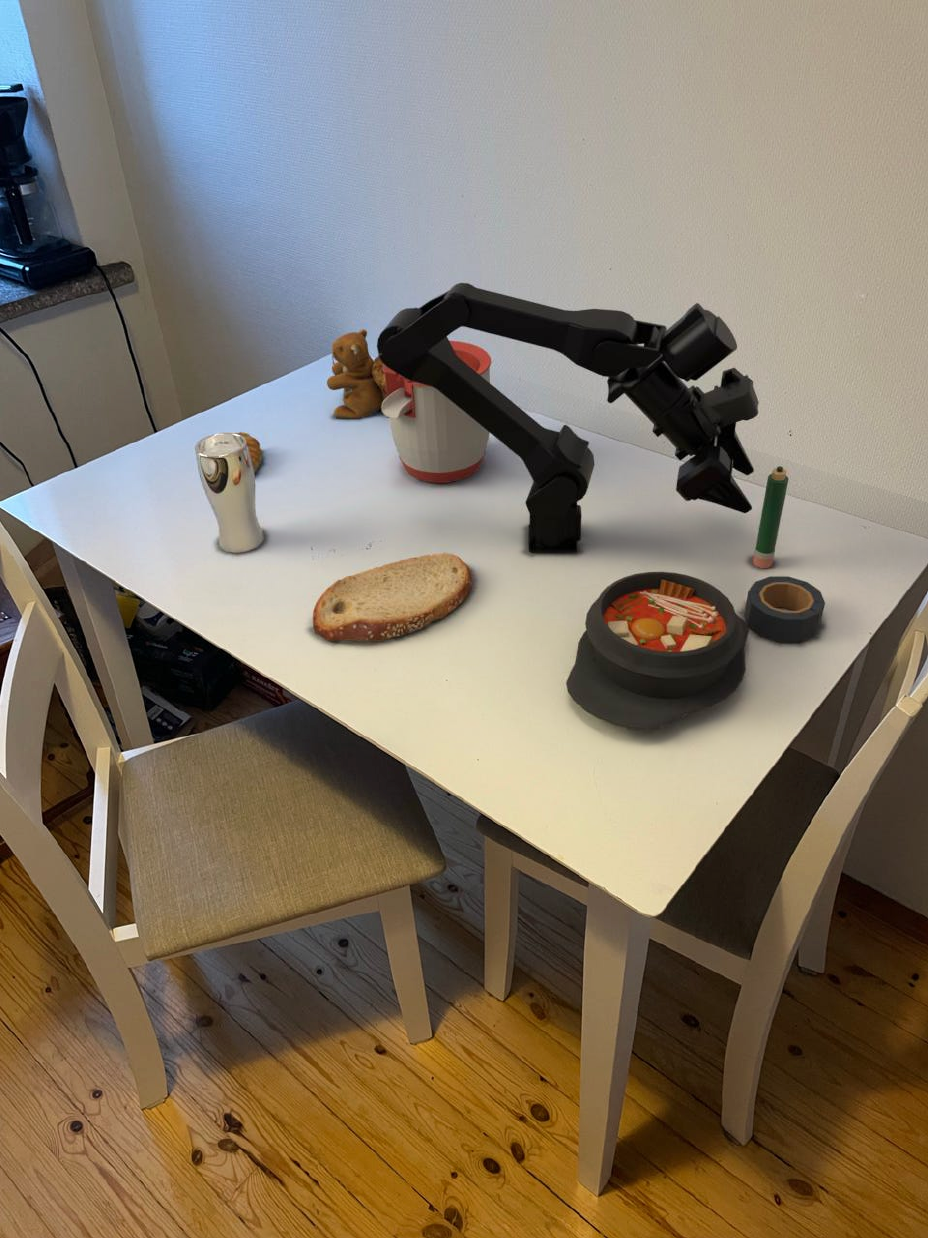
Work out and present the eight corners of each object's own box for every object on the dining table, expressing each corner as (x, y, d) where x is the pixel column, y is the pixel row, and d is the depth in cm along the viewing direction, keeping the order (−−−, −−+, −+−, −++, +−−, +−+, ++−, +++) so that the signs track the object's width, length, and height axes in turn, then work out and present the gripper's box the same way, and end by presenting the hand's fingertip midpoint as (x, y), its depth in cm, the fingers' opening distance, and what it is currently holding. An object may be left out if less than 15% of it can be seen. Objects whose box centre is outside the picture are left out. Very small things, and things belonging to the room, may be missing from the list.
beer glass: (276, 533, 134) (258, 436, 125) (248, 559, 129) (226, 461, 120) (236, 523, 136) (214, 428, 127) (206, 548, 131) (182, 451, 122)
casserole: (645, 587, 120) (651, 531, 115) (784, 644, 111) (797, 585, 105) (526, 694, 106) (526, 636, 101) (674, 771, 96) (682, 710, 91)
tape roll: (752, 642, 111) (756, 619, 109) (739, 599, 118) (743, 576, 116) (825, 643, 111) (831, 619, 108) (809, 599, 117) (814, 576, 115)
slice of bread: (478, 567, 125) (477, 543, 123) (449, 655, 112) (447, 630, 109) (348, 556, 129) (344, 532, 126) (303, 640, 115) (299, 615, 113)
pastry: (269, 475, 147) (264, 453, 144) (225, 484, 145) (219, 461, 143) (260, 448, 154) (255, 426, 151) (218, 456, 152) (213, 434, 150)
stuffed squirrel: (344, 392, 169) (335, 319, 161) (420, 398, 166) (415, 324, 158) (323, 417, 162) (313, 342, 154) (402, 424, 158) (396, 348, 150)
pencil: (754, 568, 123) (771, 472, 114) (750, 557, 125) (767, 462, 116) (774, 568, 122) (793, 472, 114) (770, 557, 124) (788, 462, 116)
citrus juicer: (363, 470, 147) (348, 345, 134) (447, 432, 156) (440, 311, 143) (429, 508, 137) (419, 377, 125) (515, 464, 146) (514, 338, 134)
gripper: (718, 394, 102) (808, 494, 106) (725, 328, 116) (805, 418, 120) (638, 454, 108) (726, 545, 113) (655, 384, 122) (732, 468, 127)
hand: (750, 491), depth 118 cm, fingers open, 9 cm apart
